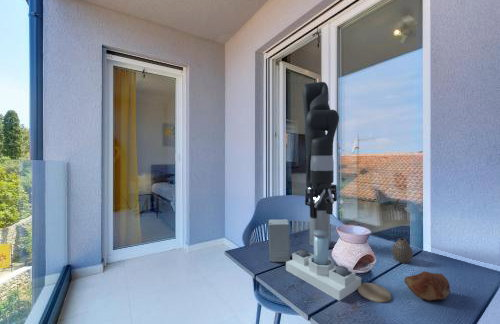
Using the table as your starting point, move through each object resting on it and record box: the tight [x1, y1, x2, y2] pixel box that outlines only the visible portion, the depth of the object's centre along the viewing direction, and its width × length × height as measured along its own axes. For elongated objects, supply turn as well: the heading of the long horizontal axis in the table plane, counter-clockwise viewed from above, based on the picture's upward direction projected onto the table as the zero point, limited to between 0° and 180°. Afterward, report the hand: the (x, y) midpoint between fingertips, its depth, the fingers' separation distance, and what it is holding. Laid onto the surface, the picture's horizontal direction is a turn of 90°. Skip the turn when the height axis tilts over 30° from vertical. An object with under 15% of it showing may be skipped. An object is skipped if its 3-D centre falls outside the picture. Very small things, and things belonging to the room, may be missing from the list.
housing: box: [285, 251, 362, 302], centre depth 79 cm, size 12×22×6 cm, turn 35°
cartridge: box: [313, 230, 329, 266], centre depth 78 cm, size 5×5×13 cm
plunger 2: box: [336, 265, 349, 277], centre depth 72 cm, size 4×4×3 cm
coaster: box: [357, 282, 392, 303], centre depth 70 cm, size 9×9×1 cm
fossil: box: [404, 271, 451, 302], centre depth 69 cm, size 13×8×10 cm
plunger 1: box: [297, 248, 309, 258], centre depth 85 cm, size 4×4×3 cm
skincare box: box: [268, 218, 291, 263], centre depth 93 cm, size 8×7×16 cm
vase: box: [391, 238, 414, 264], centre depth 91 cm, size 7×7×9 cm
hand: (321, 216), depth 78 cm, fingers open, 8 cm apart
